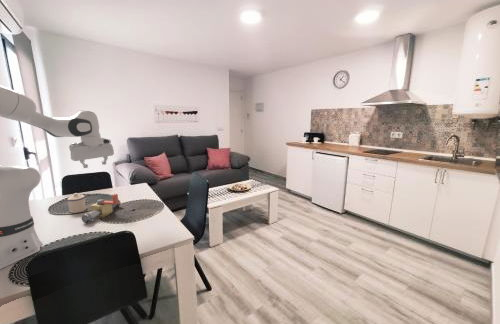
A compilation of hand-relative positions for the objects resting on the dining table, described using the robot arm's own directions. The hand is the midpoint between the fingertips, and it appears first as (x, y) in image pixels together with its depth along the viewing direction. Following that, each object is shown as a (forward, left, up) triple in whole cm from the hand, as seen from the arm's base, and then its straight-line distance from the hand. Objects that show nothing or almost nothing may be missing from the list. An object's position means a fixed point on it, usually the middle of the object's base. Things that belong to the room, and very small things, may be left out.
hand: (95, 166), depth 121 cm
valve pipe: (+6, +5, -32) cm, 33 cm away
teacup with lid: (+10, +27, -33) cm, 44 cm away
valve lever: (+6, +1, -25) cm, 25 cm away
